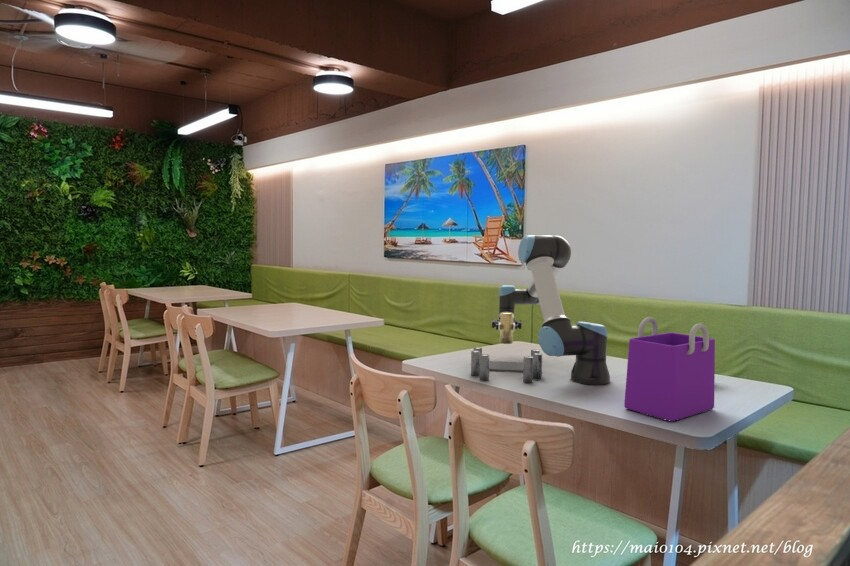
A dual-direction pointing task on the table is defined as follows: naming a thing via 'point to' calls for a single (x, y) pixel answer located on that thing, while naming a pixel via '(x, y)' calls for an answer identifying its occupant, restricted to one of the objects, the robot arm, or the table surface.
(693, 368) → the shopping bag
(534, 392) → the table surface
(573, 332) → the robot arm
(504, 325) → the brass canister
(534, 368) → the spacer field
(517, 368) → the mat
